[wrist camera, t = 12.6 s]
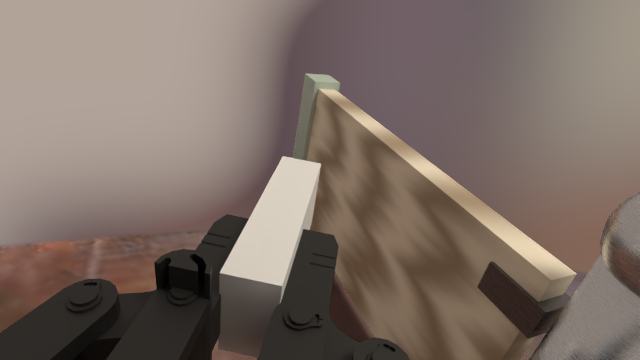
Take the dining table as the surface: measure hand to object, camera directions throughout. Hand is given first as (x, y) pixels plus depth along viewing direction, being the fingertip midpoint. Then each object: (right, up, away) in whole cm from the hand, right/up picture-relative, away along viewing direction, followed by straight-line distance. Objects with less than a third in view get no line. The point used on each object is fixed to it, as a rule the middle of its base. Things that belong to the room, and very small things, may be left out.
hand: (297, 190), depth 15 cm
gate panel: (+4, -8, +16) cm, 19 cm away
